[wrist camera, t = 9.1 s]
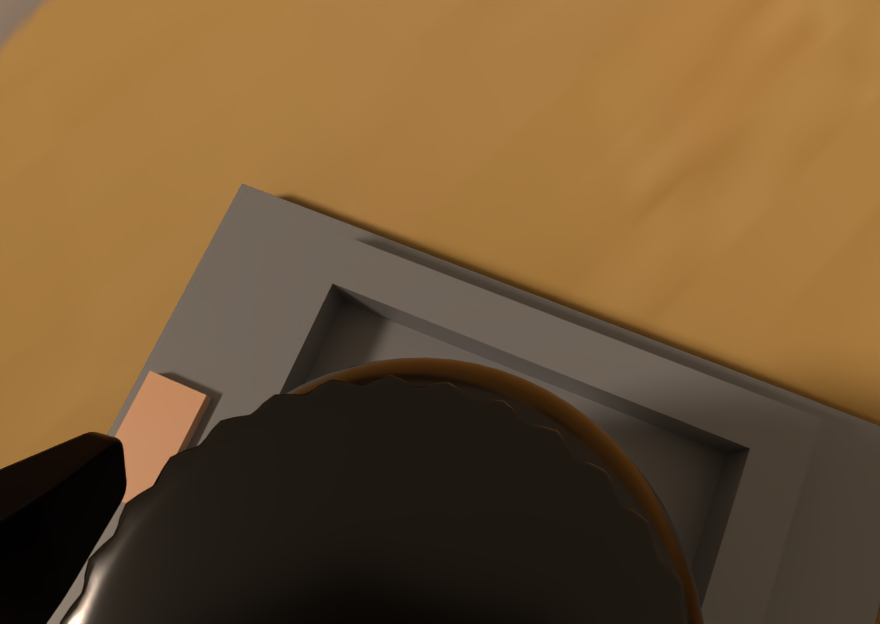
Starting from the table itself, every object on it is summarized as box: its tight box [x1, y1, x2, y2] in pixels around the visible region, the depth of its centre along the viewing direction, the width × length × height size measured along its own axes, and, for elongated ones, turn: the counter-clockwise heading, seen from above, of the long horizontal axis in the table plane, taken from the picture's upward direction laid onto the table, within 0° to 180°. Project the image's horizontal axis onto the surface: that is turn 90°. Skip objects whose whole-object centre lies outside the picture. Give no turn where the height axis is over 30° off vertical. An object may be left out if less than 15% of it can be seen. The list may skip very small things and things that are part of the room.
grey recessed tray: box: [47, 184, 880, 624], centre depth 16 cm, size 14×18×2 cm
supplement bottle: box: [60, 357, 704, 624], centre depth 11 cm, size 7×7×12 cm
